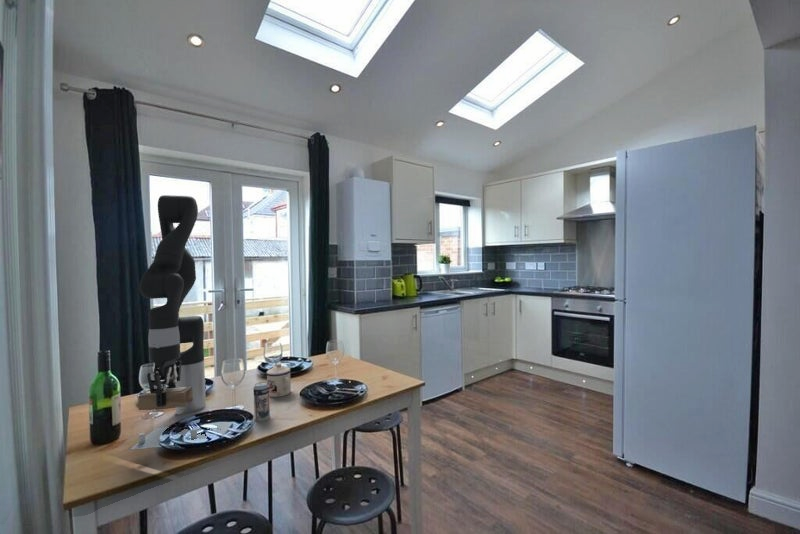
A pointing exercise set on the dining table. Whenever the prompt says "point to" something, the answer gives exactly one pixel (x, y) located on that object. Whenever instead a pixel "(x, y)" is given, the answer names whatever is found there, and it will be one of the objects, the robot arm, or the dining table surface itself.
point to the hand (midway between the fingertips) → (166, 402)
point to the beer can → (261, 401)
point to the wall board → (152, 437)
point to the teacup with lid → (279, 381)
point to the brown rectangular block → (167, 398)
